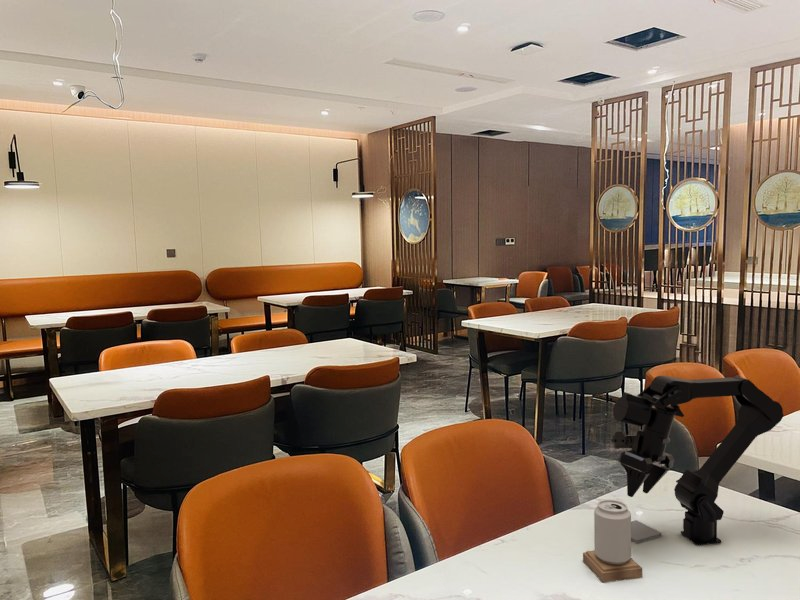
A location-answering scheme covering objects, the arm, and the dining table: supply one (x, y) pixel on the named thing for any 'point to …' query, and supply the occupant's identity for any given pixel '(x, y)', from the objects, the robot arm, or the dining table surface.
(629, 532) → the can
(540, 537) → the dining table surface
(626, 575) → the plinth
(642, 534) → the slate coaster
